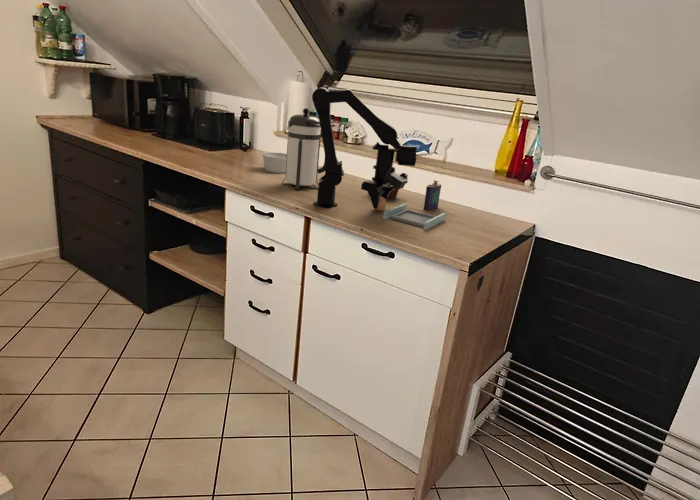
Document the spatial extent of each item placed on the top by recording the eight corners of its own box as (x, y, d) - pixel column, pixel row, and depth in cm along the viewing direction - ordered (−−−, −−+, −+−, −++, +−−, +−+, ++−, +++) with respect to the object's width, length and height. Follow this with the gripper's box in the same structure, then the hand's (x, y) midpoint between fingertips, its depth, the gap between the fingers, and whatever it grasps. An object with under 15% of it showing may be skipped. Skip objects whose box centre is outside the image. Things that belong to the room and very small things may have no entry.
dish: (423, 227, 160) (423, 224, 160) (390, 218, 166) (391, 215, 166) (437, 220, 170) (437, 216, 170) (406, 212, 176) (406, 209, 175)
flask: (433, 205, 189) (437, 178, 185) (440, 207, 187) (444, 179, 183) (421, 209, 182) (426, 181, 178) (428, 211, 180) (433, 182, 176)
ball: (381, 213, 171) (383, 199, 170) (368, 209, 174) (370, 196, 172) (388, 210, 175) (389, 196, 174) (375, 207, 178) (377, 193, 176)
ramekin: (295, 169, 225) (296, 154, 222) (288, 175, 212) (289, 159, 210) (266, 166, 226) (267, 151, 223) (258, 171, 213) (259, 155, 211)
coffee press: (316, 193, 188) (323, 112, 177) (276, 187, 190) (280, 107, 180) (327, 184, 204) (334, 109, 193) (290, 178, 206) (295, 104, 196)
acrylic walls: (425, 230, 158) (427, 222, 157) (383, 218, 165) (384, 211, 164) (444, 220, 171) (445, 213, 170) (404, 210, 178) (405, 203, 177)
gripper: (392, 171, 157) (386, 217, 163) (417, 165, 173) (410, 207, 178) (362, 164, 163) (357, 210, 168) (389, 159, 178) (383, 201, 183)
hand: (378, 207), depth 174 cm, fingers closed on ball, 5 cm apart
